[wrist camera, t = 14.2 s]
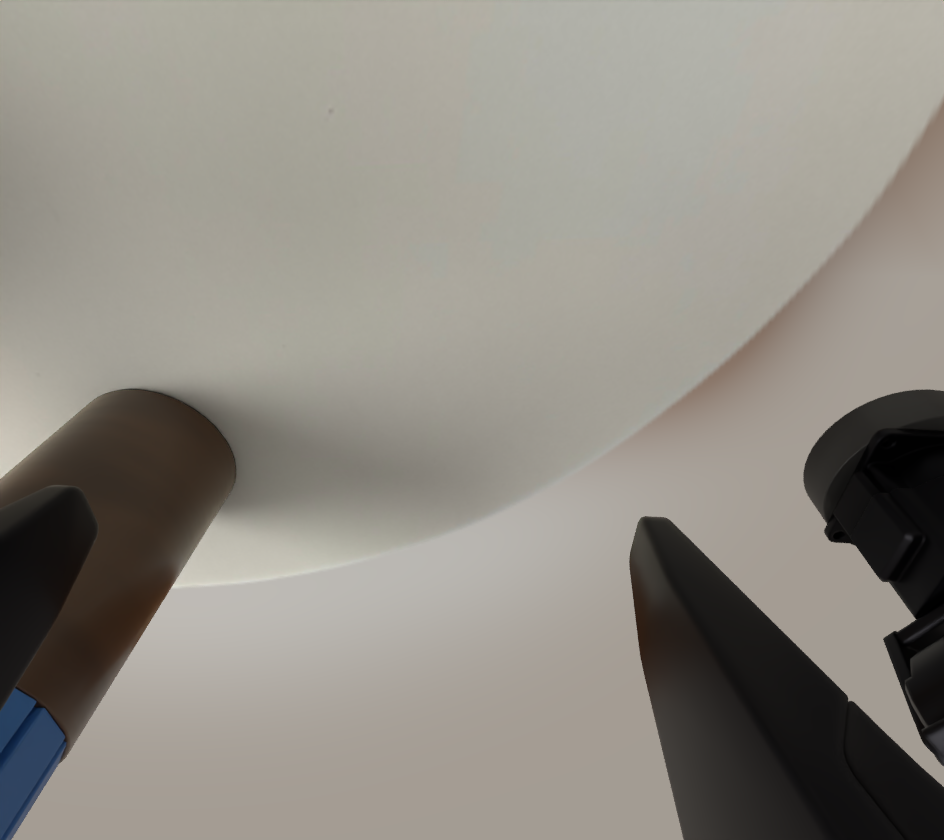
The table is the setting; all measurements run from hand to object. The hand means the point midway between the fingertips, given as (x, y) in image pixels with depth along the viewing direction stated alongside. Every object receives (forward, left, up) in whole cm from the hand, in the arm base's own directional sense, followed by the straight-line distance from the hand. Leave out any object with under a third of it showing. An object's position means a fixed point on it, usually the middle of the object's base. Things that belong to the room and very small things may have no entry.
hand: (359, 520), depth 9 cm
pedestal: (+12, +8, -12) cm, 19 cm away
